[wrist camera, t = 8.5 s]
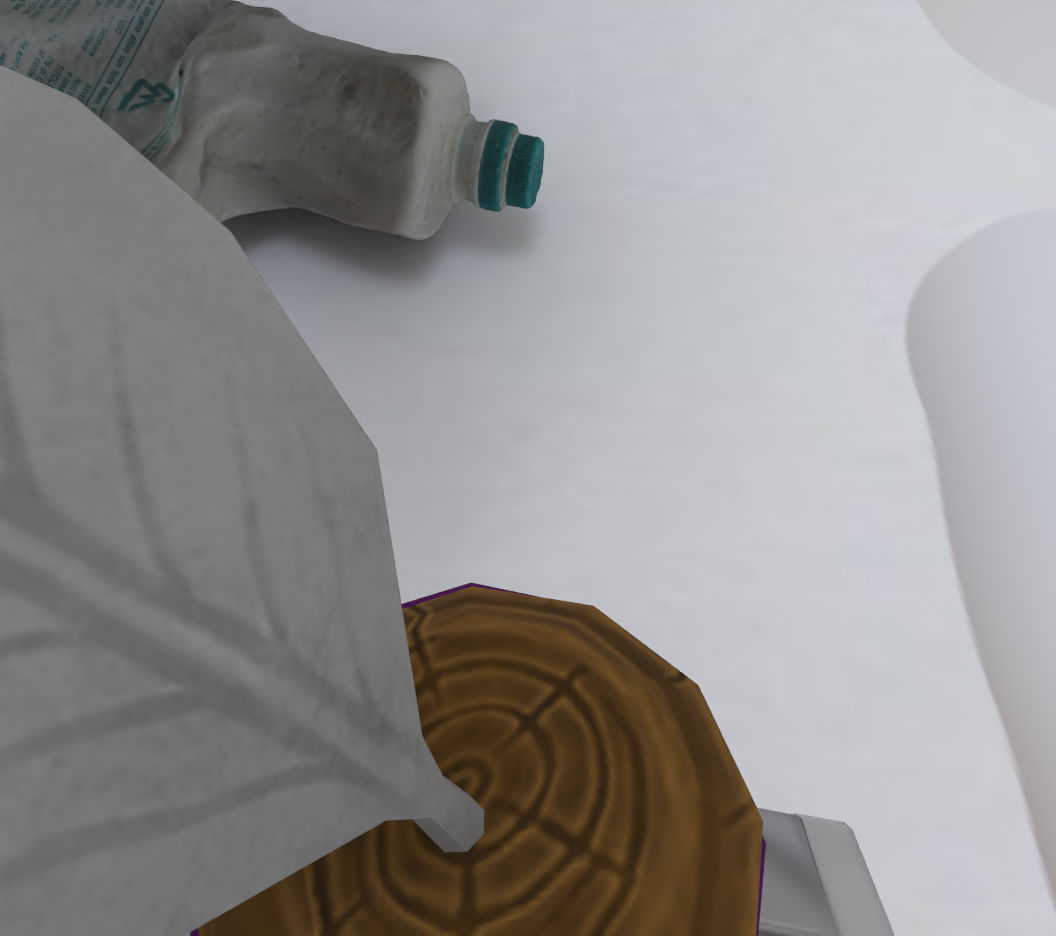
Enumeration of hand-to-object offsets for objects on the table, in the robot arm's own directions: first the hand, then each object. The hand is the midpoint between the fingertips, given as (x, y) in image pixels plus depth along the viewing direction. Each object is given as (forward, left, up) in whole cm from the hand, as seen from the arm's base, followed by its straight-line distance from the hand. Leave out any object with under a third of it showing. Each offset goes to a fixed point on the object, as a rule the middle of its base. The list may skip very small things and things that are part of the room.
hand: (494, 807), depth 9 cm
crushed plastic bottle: (+27, +6, -19) cm, 33 cm away
